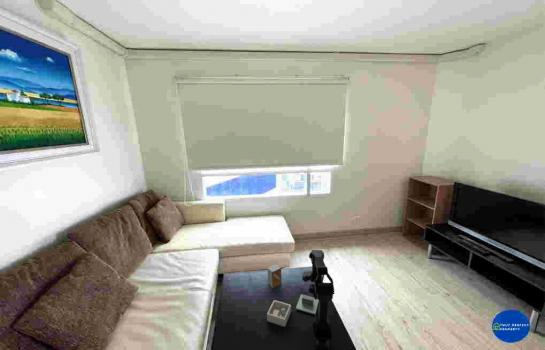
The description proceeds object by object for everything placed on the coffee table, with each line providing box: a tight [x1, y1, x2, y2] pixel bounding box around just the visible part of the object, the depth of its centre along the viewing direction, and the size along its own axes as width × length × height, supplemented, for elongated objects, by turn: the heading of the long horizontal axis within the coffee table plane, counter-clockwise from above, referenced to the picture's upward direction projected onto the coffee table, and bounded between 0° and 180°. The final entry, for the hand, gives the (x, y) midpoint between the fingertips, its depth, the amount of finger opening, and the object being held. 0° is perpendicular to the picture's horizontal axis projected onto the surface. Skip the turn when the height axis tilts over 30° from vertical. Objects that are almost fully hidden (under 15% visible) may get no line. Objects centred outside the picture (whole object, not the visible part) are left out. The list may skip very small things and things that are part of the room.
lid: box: [295, 293, 319, 315], centre depth 134 cm, size 12×12×6 cm
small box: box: [266, 263, 282, 289], centre depth 153 cm, size 8×6×13 cm
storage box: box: [266, 299, 292, 328], centre depth 127 cm, size 11×11×5 cm
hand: (317, 294), depth 127 cm, fingers open, 9 cm apart
